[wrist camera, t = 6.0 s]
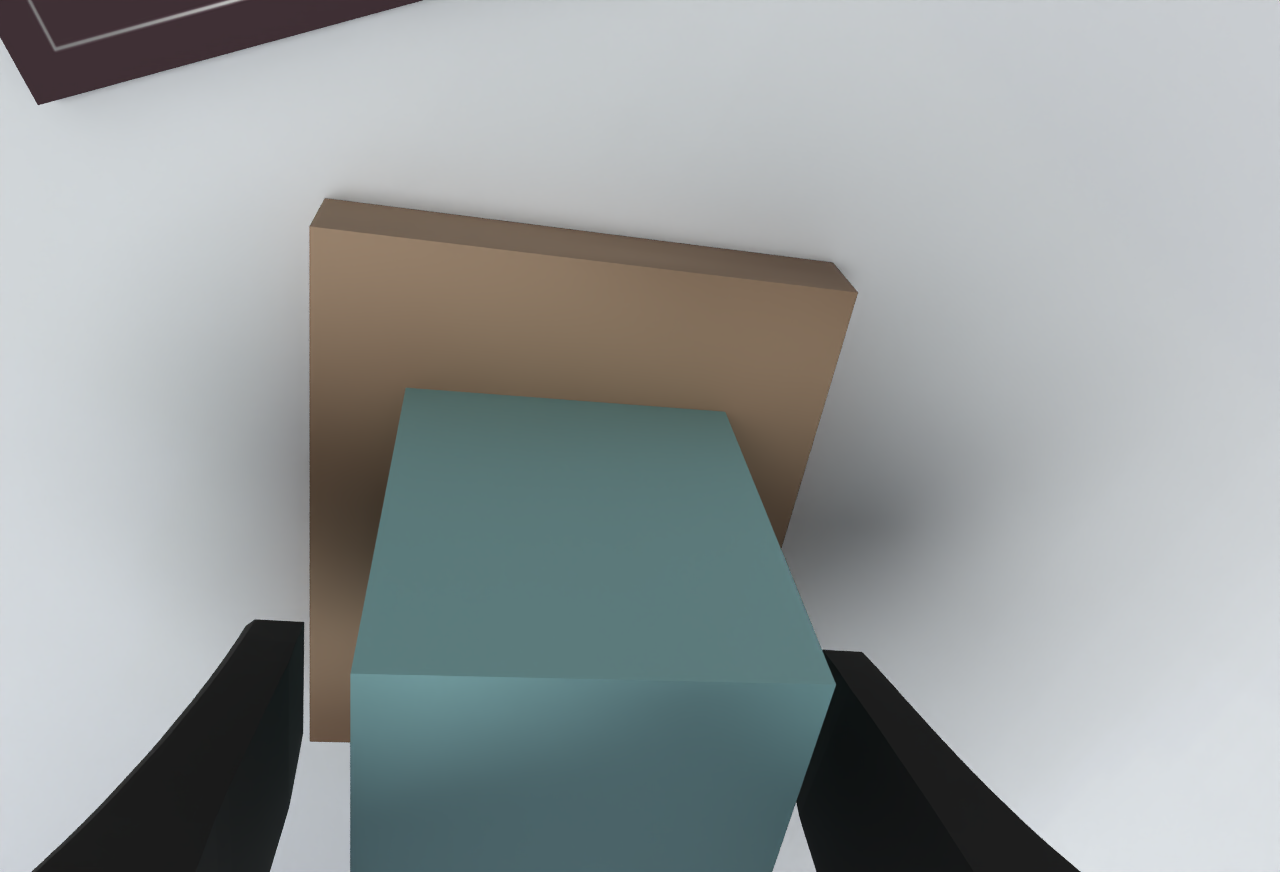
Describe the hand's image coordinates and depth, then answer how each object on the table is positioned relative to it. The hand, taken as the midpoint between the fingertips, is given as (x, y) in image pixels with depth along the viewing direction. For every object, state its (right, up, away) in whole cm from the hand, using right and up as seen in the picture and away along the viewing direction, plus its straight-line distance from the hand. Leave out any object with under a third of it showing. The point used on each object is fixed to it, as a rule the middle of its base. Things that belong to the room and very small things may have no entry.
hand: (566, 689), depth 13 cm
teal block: (0, +2, +3) cm, 3 cm away
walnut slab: (-1, +3, +5) cm, 5 cm away
